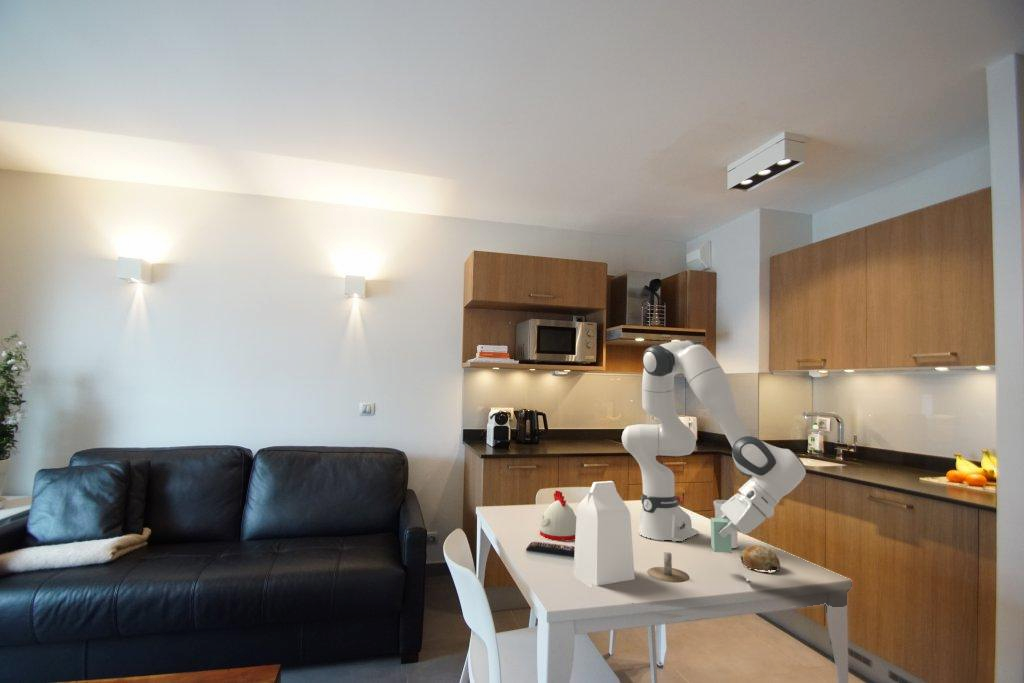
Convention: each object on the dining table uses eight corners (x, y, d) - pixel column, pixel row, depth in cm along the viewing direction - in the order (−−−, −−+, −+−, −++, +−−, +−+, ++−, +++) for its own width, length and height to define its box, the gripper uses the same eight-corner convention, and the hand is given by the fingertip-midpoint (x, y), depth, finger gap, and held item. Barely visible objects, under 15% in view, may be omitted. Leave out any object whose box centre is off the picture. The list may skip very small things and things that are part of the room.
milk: (596, 591, 123) (596, 487, 126) (573, 575, 134) (573, 479, 136) (634, 585, 128) (634, 484, 130) (609, 569, 138) (609, 477, 141)
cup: (738, 552, 156) (737, 506, 157) (711, 547, 160) (711, 503, 162) (741, 545, 163) (740, 501, 164) (716, 541, 167) (715, 498, 168)
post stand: (665, 569, 139) (664, 544, 140) (698, 582, 130) (697, 555, 131) (638, 577, 133) (638, 550, 134) (671, 591, 124) (670, 563, 125)
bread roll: (758, 587, 137) (769, 564, 135) (730, 560, 146) (739, 538, 144) (780, 581, 142) (791, 559, 140) (751, 555, 151) (761, 534, 148)
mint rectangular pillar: (711, 546, 137) (710, 517, 137) (728, 548, 136) (727, 518, 137) (714, 551, 132) (713, 521, 133) (731, 553, 131) (730, 522, 132)
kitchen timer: (568, 528, 180) (568, 486, 181) (586, 539, 167) (586, 494, 168) (533, 531, 175) (534, 488, 176) (549, 542, 162) (550, 496, 164)
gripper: (737, 483, 144) (703, 514, 145) (756, 497, 125) (717, 533, 126) (753, 499, 143) (719, 531, 144) (776, 516, 123) (736, 552, 124)
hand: (718, 532), depth 135 cm, fingers closed on mint rectangular pillar, 4 cm apart
